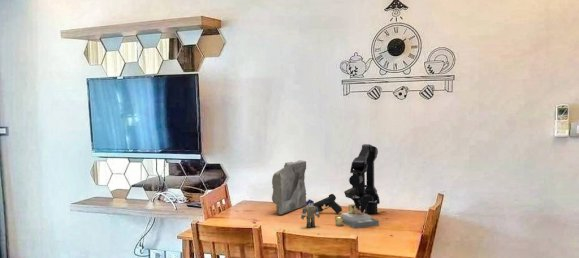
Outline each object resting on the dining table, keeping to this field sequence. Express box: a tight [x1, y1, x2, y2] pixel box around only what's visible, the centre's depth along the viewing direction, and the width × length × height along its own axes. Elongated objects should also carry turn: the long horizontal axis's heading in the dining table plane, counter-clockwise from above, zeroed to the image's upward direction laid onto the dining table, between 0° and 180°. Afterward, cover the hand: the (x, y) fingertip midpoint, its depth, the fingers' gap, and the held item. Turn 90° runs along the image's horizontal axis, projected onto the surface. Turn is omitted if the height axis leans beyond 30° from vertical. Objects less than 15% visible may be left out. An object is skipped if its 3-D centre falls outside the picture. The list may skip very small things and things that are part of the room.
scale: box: [340, 211, 380, 229], centre depth 252 cm, size 15×19×4 cm
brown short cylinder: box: [356, 208, 365, 215], centre depth 249 cm, size 4×4×3 cm
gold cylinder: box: [334, 215, 345, 227], centre depth 247 cm, size 4×4×4 cm
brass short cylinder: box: [348, 203, 356, 214], centre depth 257 cm, size 4×4×4 cm
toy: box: [300, 199, 321, 229], centre depth 244 cm, size 10×4×15 cm, turn 114°
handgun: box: [313, 193, 343, 215], centre depth 276 cm, size 2×17×12 cm, turn 78°
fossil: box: [271, 159, 307, 215], centre depth 287 cm, size 34×9×30 cm, turn 153°
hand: (359, 211), depth 249 cm, fingers closed on brown short cylinder, 4 cm apart
